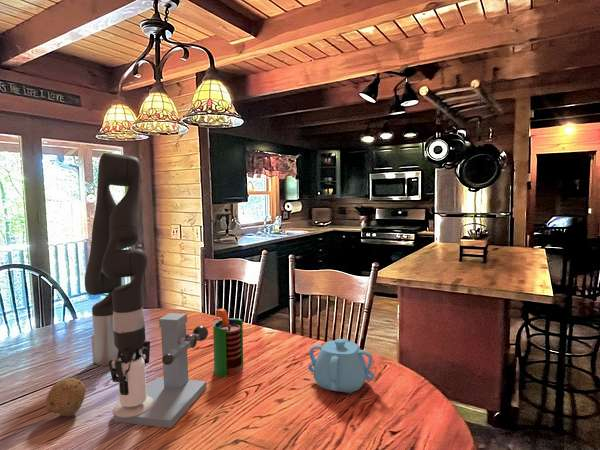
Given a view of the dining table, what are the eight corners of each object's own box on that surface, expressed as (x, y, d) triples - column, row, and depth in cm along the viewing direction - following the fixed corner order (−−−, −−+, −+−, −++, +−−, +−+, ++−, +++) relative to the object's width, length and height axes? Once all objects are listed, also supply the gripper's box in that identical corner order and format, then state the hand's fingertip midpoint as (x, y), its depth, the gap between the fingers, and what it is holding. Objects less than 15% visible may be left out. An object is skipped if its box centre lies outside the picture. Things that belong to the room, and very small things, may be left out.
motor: (235, 378, 121) (233, 316, 119) (209, 376, 123) (206, 314, 121) (246, 364, 131) (244, 306, 129) (221, 362, 132) (219, 305, 131)
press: (104, 422, 99) (98, 337, 97) (152, 382, 119) (148, 311, 117) (168, 430, 95) (164, 342, 93) (206, 387, 115) (203, 314, 113)
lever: (157, 369, 98) (156, 352, 97) (197, 337, 119) (196, 323, 118) (173, 370, 97) (172, 353, 96) (210, 338, 118) (210, 323, 117)
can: (125, 395, 105) (122, 353, 104) (149, 394, 105) (147, 351, 104) (116, 409, 99) (113, 363, 97) (142, 407, 99) (139, 362, 98)
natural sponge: (46, 430, 96) (43, 391, 95) (47, 413, 103) (44, 377, 103) (88, 418, 101) (85, 381, 100) (85, 403, 108) (83, 368, 107)
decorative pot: (353, 368, 126) (352, 327, 125) (378, 392, 111) (378, 345, 110) (306, 377, 121) (305, 334, 120) (326, 403, 106) (325, 354, 105)
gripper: (133, 316, 108) (137, 374, 110) (96, 335, 94) (101, 401, 96) (157, 317, 107) (160, 376, 108) (123, 337, 93) (128, 404, 94)
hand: (132, 387), depth 102 cm, fingers closed on can, 5 cm apart
